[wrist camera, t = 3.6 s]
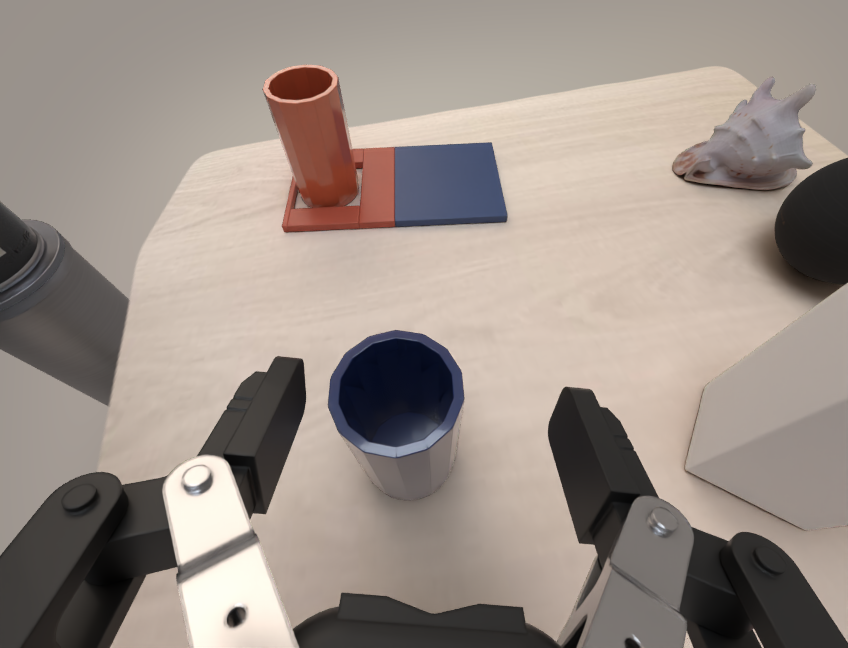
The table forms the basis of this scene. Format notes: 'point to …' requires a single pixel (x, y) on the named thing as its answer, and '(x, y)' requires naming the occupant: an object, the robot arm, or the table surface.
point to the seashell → (752, 144)
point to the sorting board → (413, 190)
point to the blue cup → (399, 411)
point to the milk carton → (783, 422)
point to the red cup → (314, 133)
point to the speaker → (817, 225)
